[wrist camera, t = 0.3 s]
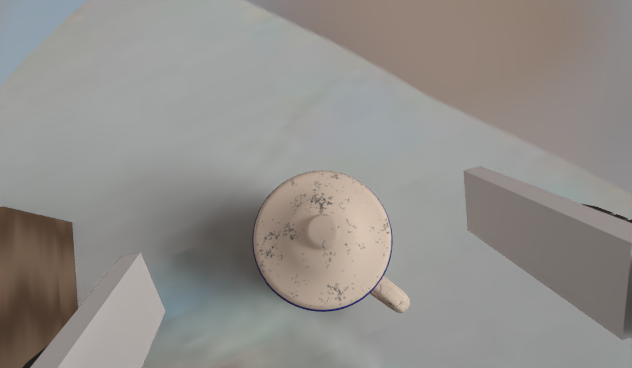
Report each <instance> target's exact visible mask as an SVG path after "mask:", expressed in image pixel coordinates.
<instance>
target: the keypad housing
mask: <svg viewBox="0 0 632 368" xmlns="http://www.w3.org/2000/svg"><path fill="white" fill-rule="evenodd" d="M77 310H78V305H77V290H76V275H75V260H74V246H73V231H72V222H67V221H63V220H59V219H54V218H50V217H46V216H42V215H37V214H33V213H29V212H24V211H20V210H16V209H11V208H7V207H0V368H22V367H23V366H24V365H25V364H26V363H27V362H28V361H29V360H30V359H32V358H33V357H34V356H35V355H36V354H38V353H39V352H40V351H41V350H42V349H44V348H45V347H47V346H48V345H49V344H50V343H51V342H52V340H53V339H54V338H55V337H56V335H57V334H58V333H59V332H60V331H61V329H62V328H63V327H64V326H65V324H66V323H67V322H68V321H69V319H70V318H71V317H72V316H73V315H74V313H75V312H76V311H77Z"/></svg>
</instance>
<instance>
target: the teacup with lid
mask: <svg viewBox="0 0 632 368" xmlns="http://www.w3.org/2000/svg"><path fill="white" fill-rule="evenodd" d="M391 252H392V230H391V225H390V221H389V218H388V215H387V213H386V211H385V209H384V207H383V205H382V204H381V202H380V201H379V199H378V198H377V197H376V196H375V194H374V193H373V192H372V191H371V190H370V189H369V188H367V187H366V186H365V185H364V184H362V183H361V182H359V181H358V180H356V179H354V178H352V177H350V176H347V175H345V174H341V173H337V172H332V171H312V172H307V173H303V174H300V175H297V176H295V177H293V178H290V179H289V180H287V181H285V182H284V183H282V184H281V185H280V186H278V187H277V188H276V189H275V190H274V191H273V192H272V193H271V194H270V195H269V196H268V198H267V199H266V200H265V202H264V203H263V205H262V206H261V208H260V210H259V212H258V215H257V218H256V221H255V224H254V229H253V253H254V257H255V261H256V264H257V267H258V269H259V272H260V274H261V275H262V277H263V279H264V280H265V282H266V283H267V285H268V286H269V287H270V288H271V289H272V290H273V291H274V292H275V293H276V294H277V295H278V296H279V297H281V298H282V299H283V300H285V301H287V302H288V303H290V304H292V305H294V306H296V307H299V308H302V309H306V310H310V311H320V312H326V311H335V310H340V309H343V308H346V307H349V306H351V305H353V304H355V303H357V302H359V301H360V300H362V299H363V298H365V297H366V296H367V295H368V294H369V293H370V294H371V295H373V296H374V297H375V298H377V299H378V300H379V301H381V302H382V303H384V304H385V305H386V306H388V307H389V308H391V309H392V310H394V311H396V312H398V313H404V312H405V311H406V310H407V308H408V306H409V305H410V300H409V298H408V296H407V295H406V294H405V293H404V292H403V291H402V290H401V289H399V288H398V287H397V286H396V285H395V284H393V283H392V282H391V281H390V280H388V279H387V278H386V277H384V274H385V272H386V270H387V267H388V264H389V261H390V258H391Z"/></svg>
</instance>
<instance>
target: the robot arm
mask: <svg viewBox="0 0 632 368" xmlns="http://www.w3.org/2000/svg"><path fill="white" fill-rule="evenodd" d="M464 183H465V198H466V212H467V226H468V231H470V232H471V233H473V234H474V235H475V236H477V237H478V238H480V239H481V240H482V241H484V242H485V243H487V244H488V245H489V246H491V247H492V248H494V249H495V250H497V251H498V252H499V253H501V254H502V255H504V256H505V257H506V258H508V259H509V260H511V261H512V262H513V263H515V264H516V265H518V266H519V267H520V268H522V269H523V270H525V271H526V272H527V273H529V274H530V275H532V276H533V277H534V278H536V279H537V280H539V281H540V282H541V283H543V284H544V285H546V286H547V287H548V288H550V289H551V290H553V291H554V292H556V293H557V294H558V295H560V296H561V297H563V298H564V299H565V300H567V301H568V302H570V303H571V304H572V305H574V306H575V307H577V308H578V309H579V310H581V311H582V312H584V313H585V314H586V315H588V316H589V317H591V318H592V319H593V320H595V321H596V322H598V323H599V324H600V325H602V326H603V327H605V328H606V329H607V330H609V331H610V332H612V333H613V334H615V335H616V336H617V337H619V338H620V339H622V340H623V339H627V338H630V337H632V220H628V218H625V217H623V216H620V215H617V214H616V215H614V214H613V213H612V212H609V211H606V210H604V209H601V208H598V207H595V206H590V205H585V204H580V203H577V202H574V201H572V200H569V199H566V198H564V197H561V196H558V195H556V194H553V193H550V192H548V191H545V190H543V189H540V188H537V187H535V186H532V185H529V184H527V183H524V182H521V181H519V180H516V179H513V178H511V177H508V176H505V175H503V174H500V173H498V172H495V171H492V170H490V169H487V168H484V167H482V166H480V167H476V168H472V169H468V170H464ZM164 314H165V309H164V307H163V305H162V302H161V300H160V298H159V295H158V293H157V290H156V288H155V286H154V283H153V281H152V279H151V276H150V274H149V271H148V269H147V267H146V264H145V262H144V260H143V257H142V255H141V252H140V253H136V254H132V255H128V256H124V257H120V258H119V259H118V261H117V262H116V263H115V264H114V265H113V267H112V268H111V269H110V270H109V272H108V273H107V274H106V275H105V277H104V278H103V279H102V280H101V281H100V283H99V284H98V285H97V286H96V288H95V289H94V290H93V291H92V292H91V294H90V295H89V296H88V297H87V299H86V300H85V301H84V302H83V304H82V305H81V306H80V307H79V308H78V310H77V311H76V312H75V313H74V315H73V316H72V317H71V318H70V319H69V321H68V322H67V323H66V324H65V326H64V327H63V328H62V329H61V331H60V332H59V333H58V334H57V335H56V337H55V338H54V339H53V340H52V342H51V343H50V344H49V345H48V346H47V347H45V348H44V349H42V350H41V351H40V352H39V353H38V354H36V355H35V356H34V357H33V358H32V359H30V360H29V361H28V362H27V363H26V364H25V365H24V366H23V367H22V368H142V366H143V363H144V361H145V359H146V356H147V354H148V352H149V349H150V347H151V344H152V342H153V340H154V337H155V335H156V333H157V330H158V328H159V326H160V323H161V321H162V318H163V316H164Z"/></svg>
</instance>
